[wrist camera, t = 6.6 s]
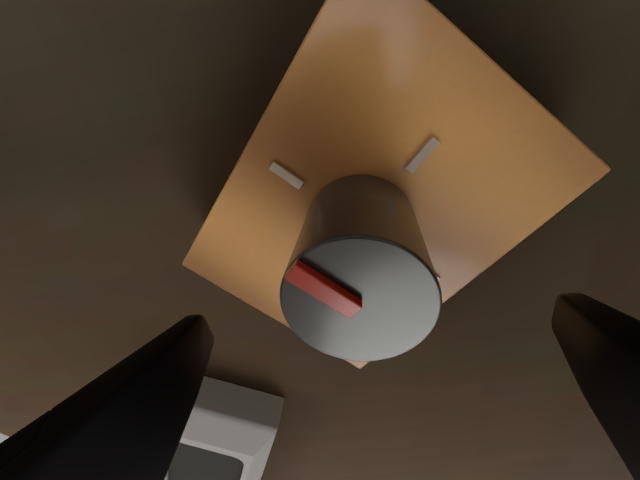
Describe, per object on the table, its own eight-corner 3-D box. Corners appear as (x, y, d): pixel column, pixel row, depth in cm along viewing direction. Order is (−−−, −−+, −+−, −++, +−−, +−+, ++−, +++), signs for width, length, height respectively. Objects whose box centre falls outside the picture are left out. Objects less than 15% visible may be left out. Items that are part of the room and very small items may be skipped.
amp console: (360, 324, 20) (360, 372, 17) (211, 231, 18) (178, 266, 15) (557, 147, 14) (616, 170, 10) (360, -29, 12) (359, -66, 8)
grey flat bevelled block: (273, 446, 22) (246, 525, 29) (285, 398, 25) (258, 480, 32) (141, 410, 22) (148, 499, 29) (170, 366, 25) (170, 456, 32)
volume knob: (438, 217, 12) (484, 307, 8) (368, 286, 14) (370, 390, 10) (349, 150, 11) (339, 206, 7) (287, 233, 13) (248, 321, 9)
